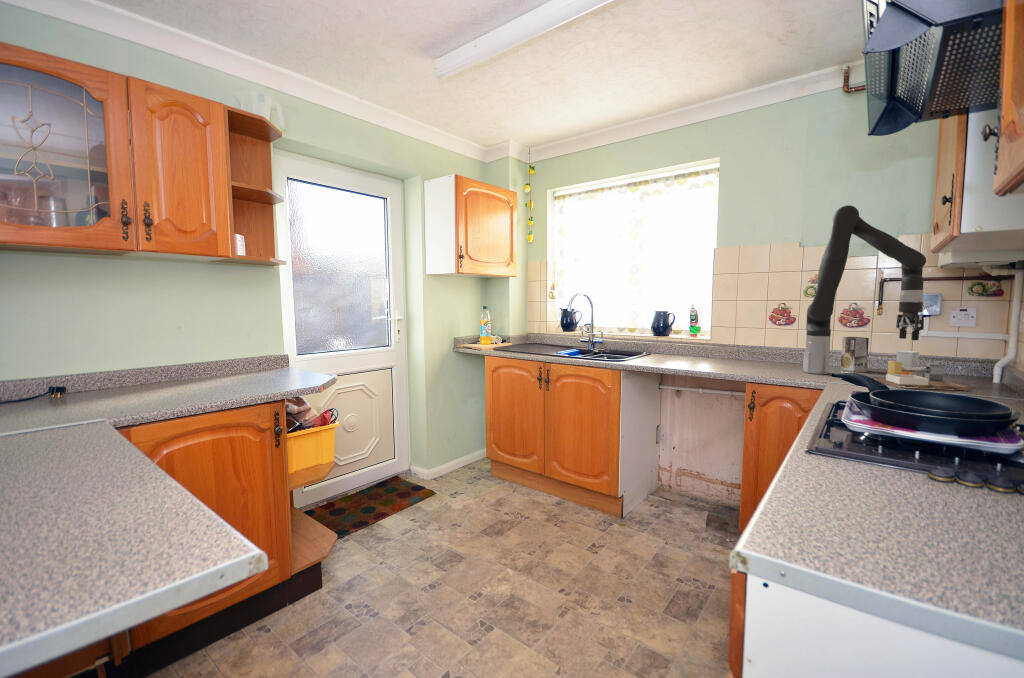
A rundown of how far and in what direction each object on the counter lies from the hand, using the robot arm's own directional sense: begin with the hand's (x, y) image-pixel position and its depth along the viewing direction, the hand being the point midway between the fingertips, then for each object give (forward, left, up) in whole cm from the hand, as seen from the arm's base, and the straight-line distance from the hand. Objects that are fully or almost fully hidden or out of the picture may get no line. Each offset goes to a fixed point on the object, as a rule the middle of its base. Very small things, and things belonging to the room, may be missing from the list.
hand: (908, 339), depth 190 cm
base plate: (-4, -16, -17) cm, 24 cm away
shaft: (-3, -10, -14) cm, 18 cm away
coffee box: (-10, +22, -17) cm, 30 cm away
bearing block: (+4, -10, -16) cm, 19 cm away
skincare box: (0, 0, -17) cm, 17 cm away
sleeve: (-10, -20, -15) cm, 27 cm away
